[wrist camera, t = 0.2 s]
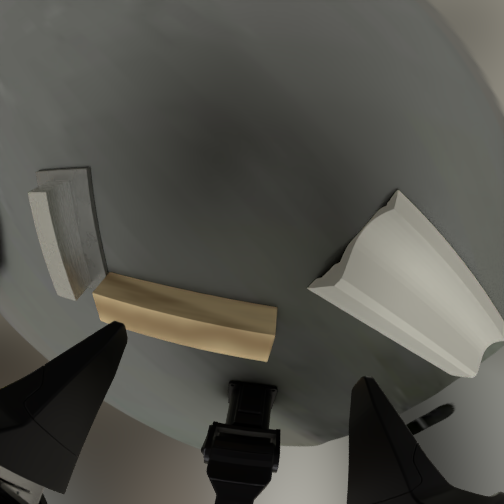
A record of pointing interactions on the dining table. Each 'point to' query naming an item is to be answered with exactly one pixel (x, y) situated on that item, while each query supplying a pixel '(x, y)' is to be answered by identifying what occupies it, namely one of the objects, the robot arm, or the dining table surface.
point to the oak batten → (188, 317)
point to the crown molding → (414, 290)
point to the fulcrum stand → (68, 229)
